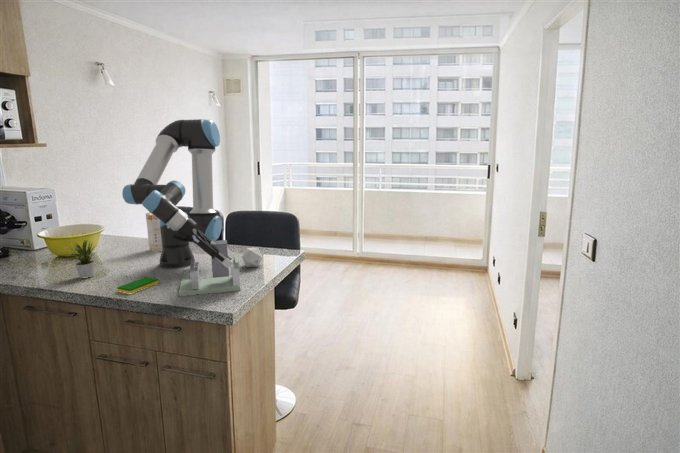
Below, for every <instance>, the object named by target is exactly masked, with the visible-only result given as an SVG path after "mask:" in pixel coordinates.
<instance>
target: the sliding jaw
mask: <svg viewBox="0 0 680 453" xmlns="http://www.w3.org/2000/svg"><path fill="white" fill-rule="evenodd" d="M189 273H190V275H189V276H190V280H191V288H192V290H193V289H199V282H200V279H201V278H200V277H201V276H200V263H199V261H196V259H195V258H194V259H192V260H191V265H189Z"/></svg>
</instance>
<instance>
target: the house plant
mask: <svg viewBox="0 0 680 453" xmlns="http://www.w3.org/2000/svg"><path fill="white" fill-rule="evenodd" d="M66 243H68V244H70V245H72V246H73V248H74V250H75V251H74V250H73V248H71V247H69V246H68V247H66V249H68V250H71V251H70V252H69V253H65V255H67V256H66V257H67V258H68V261H70V262H72V261H74V260H77V262H76V263H75V268H76V271H77V273H78V277H79V278H80V277H81V278H83V277H91V276H93V275H94V276H95V263H96V262H95V260H92V259H94V256H93V255H94V254H96V253H97V251H96V252H94V253H92V251H93V249H94V248H95V247H96V246H97V245H98V244H95V245H94V246H93V241H92V242H91V241H89V242H88V238H86V239H83V242H82V246H80V244H78V242H75V244H74V243H72V242H66ZM87 245H88V246H87ZM72 251H73V252H72ZM91 253H92V254H91ZM72 256H73V257H72ZM92 256H93V257H92ZM70 257H71V258H70ZM94 276H93V277H94ZM81 278H80V279H81ZM91 278H92V277H91Z"/></svg>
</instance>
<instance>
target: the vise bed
mask: <svg viewBox="0 0 680 453" xmlns="http://www.w3.org/2000/svg"><path fill="white" fill-rule="evenodd" d="M233 257H234V258H233V259H231V260H230V261H231V262H233V263H232V265H231V266H230V267H231V275H229V277H218V278H213V277H207V278H200V282H199V289H193V290H192V288H191V279H185V280H181V281H180V286H179V291H178V297H187V296H186V295H189V296H197V295H196V294H199V295H205V294H206V295H207V294H208V293H209V294H216V293H218V294H219V293H226V292H237V291H241V283H240V282H241V280H240V279H241V278H240V265H239V263H240V262H239V258H238V253H233Z"/></svg>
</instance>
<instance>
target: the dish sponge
mask: <svg viewBox="0 0 680 453" xmlns="http://www.w3.org/2000/svg"><path fill="white" fill-rule="evenodd" d="M159 282H160V281H159V278H156V277H149V276H145V277H142V278H139V279H135V280H133V281H131V282H128V283H125V284H123V285H119V286H117V287H116V288H117V289H116V291H117V292H118V291H121V292H126V293H133V292H136V291H138V290H141V289H144V288H146V289H148V288H147V287H149V288H151V287H150V286H152V285H154V286H156V285H155V284H157V285H159V284H158V283H159ZM152 287H153V286H152ZM144 290H145V289H144ZM141 291H142V290H141ZM136 293H137V292H136Z"/></svg>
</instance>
